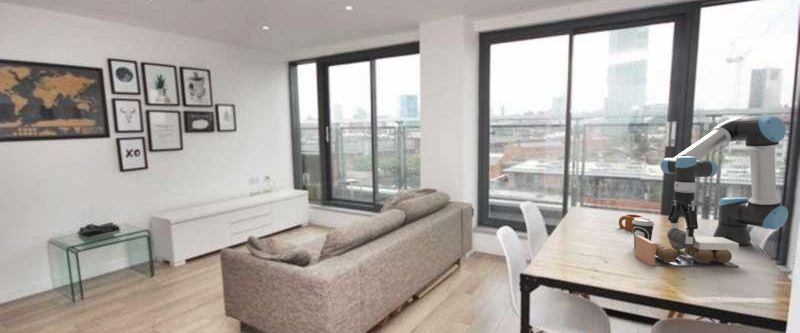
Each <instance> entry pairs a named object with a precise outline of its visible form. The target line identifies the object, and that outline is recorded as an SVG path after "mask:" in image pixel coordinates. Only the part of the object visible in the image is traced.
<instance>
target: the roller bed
mask: <svg viewBox="0 0 800 333" xmlns="http://www.w3.org/2000/svg"><path fill="white" fill-rule="evenodd" d="M654 267H684V268H686V267H689V268H691V267H699V268H700V267H701V268H739V265H737V264H735V263H733V262H730V261H729V262H727V263H721V262H719V261H717V260H715V259H712V261H710V262H708V263H704V262H701V261H699V260H697V259H695V258H693V257H691V256H689V255H687V254H677V258H676V260H675V261H673V262H666V261H664V260H663V259H661V258H659V257H657V256H656V255H655V266H654Z"/></svg>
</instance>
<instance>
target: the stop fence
mask: <svg viewBox="0 0 800 333" xmlns="http://www.w3.org/2000/svg"><path fill="white" fill-rule="evenodd" d="M656 243H657V242H654V241H652V240H651V241H650V240H648V239H646V238H644V237H642V236H640V235H636V243H635V248H634V249H635V250H634V257H635V258H637V259H639V260H640V261H641V262H643V263H645V264H647V265H648V266H650V267H651V266H652V267H656V266H655V252H656Z"/></svg>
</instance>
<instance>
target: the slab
mask: <svg viewBox="0 0 800 333" xmlns="http://www.w3.org/2000/svg"><path fill="white" fill-rule="evenodd" d="M694 237H695V244H694V245H693V247H695V248H697V249H699V250H706V249H707V250H728V251H739V248H740V245H739V243H736V242H734V241H731V240H728V239H726V238H723V237H713V236H694Z"/></svg>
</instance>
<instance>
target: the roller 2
mask: <svg viewBox="0 0 800 333" xmlns="http://www.w3.org/2000/svg"><path fill="white" fill-rule="evenodd" d="M695 237H696V236H694V235H693V244H685V238H686V231H684V230H681V229H679V228H678V229H676V228H673V229H671V228H670V229H669V230H668V231H667V238H668V240H669V239H670V240H671V241H673V242H676V243H678V244H680V245H682V246H684V247H691V246H693V245H694V244H695Z"/></svg>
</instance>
